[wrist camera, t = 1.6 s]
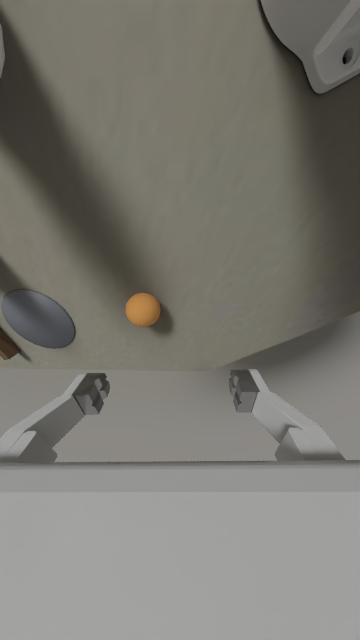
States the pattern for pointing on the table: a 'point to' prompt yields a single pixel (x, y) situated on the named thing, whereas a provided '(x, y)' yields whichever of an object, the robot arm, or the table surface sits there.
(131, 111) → the table surface
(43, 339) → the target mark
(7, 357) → the stopper strip
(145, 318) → the ball
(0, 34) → the decorative candle
